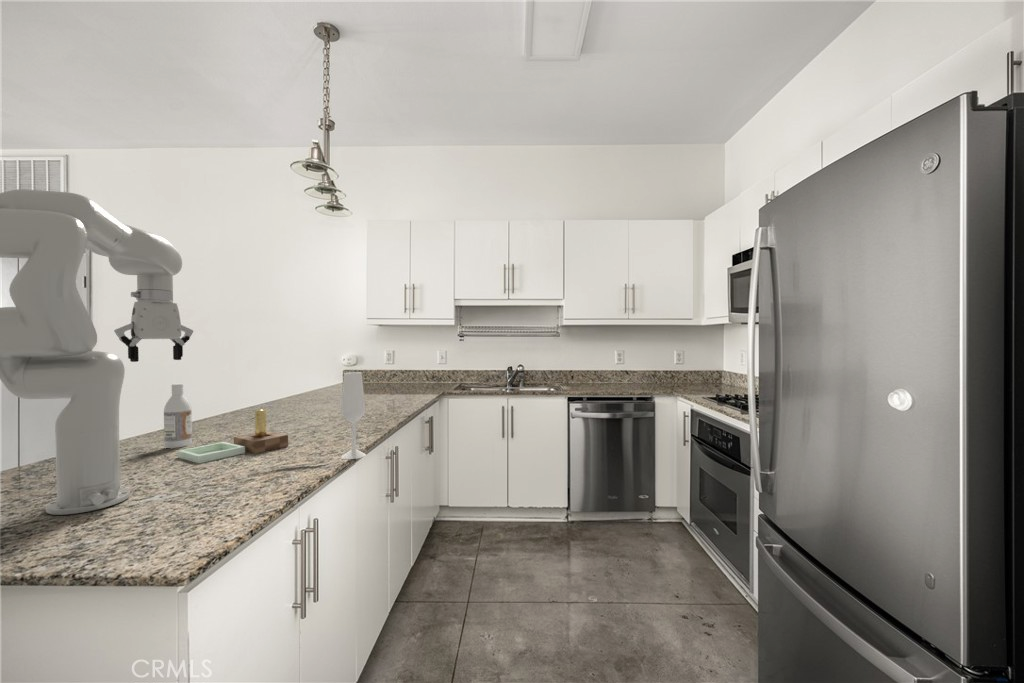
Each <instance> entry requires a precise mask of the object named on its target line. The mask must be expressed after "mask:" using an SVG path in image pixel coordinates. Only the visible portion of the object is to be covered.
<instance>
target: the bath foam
mask: <svg viewBox="0 0 1024 683" xmlns="http://www.w3.org/2000/svg"><path fill="white" fill-rule="evenodd" d="M192 416H193V415H192V406H191V403H190V402H189V400H188V399H187V397H186V396H185V395H184V383H171V396H170V397H169V398H168V400H167V401H166V403H165V406H164V408H163V437H164V438H163V442H164V448H165V447H166V448H171V449H176V448H183V447H188V446H191V444H193V442H192V441H193V436H192V435H193V431H192V430H193V429H192V428H193V426H192V425H193V424H192V423H193V422H192ZM166 448H165V449H166Z"/></svg>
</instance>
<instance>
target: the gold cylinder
mask: <svg viewBox="0 0 1024 683" xmlns="http://www.w3.org/2000/svg"><path fill="white" fill-rule="evenodd" d="M254 426H255V427H254V430H255V432H254V433H255V438H262V437H267V435H266V431H267V409H265V408H264V409H256V410H254Z"/></svg>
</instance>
